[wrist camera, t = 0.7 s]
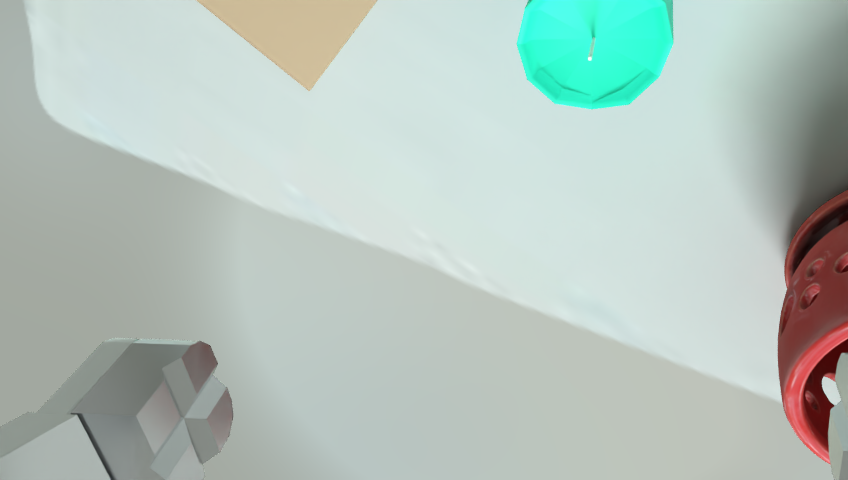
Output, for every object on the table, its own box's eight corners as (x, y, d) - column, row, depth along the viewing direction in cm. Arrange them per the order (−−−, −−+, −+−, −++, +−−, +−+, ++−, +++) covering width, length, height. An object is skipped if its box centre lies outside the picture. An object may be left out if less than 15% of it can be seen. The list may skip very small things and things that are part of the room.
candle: (527, -11, 39) (484, 84, 30) (588, -123, 35) (560, -53, 26) (627, 43, 39) (615, 155, 30) (698, -62, 36) (709, 29, 26)
